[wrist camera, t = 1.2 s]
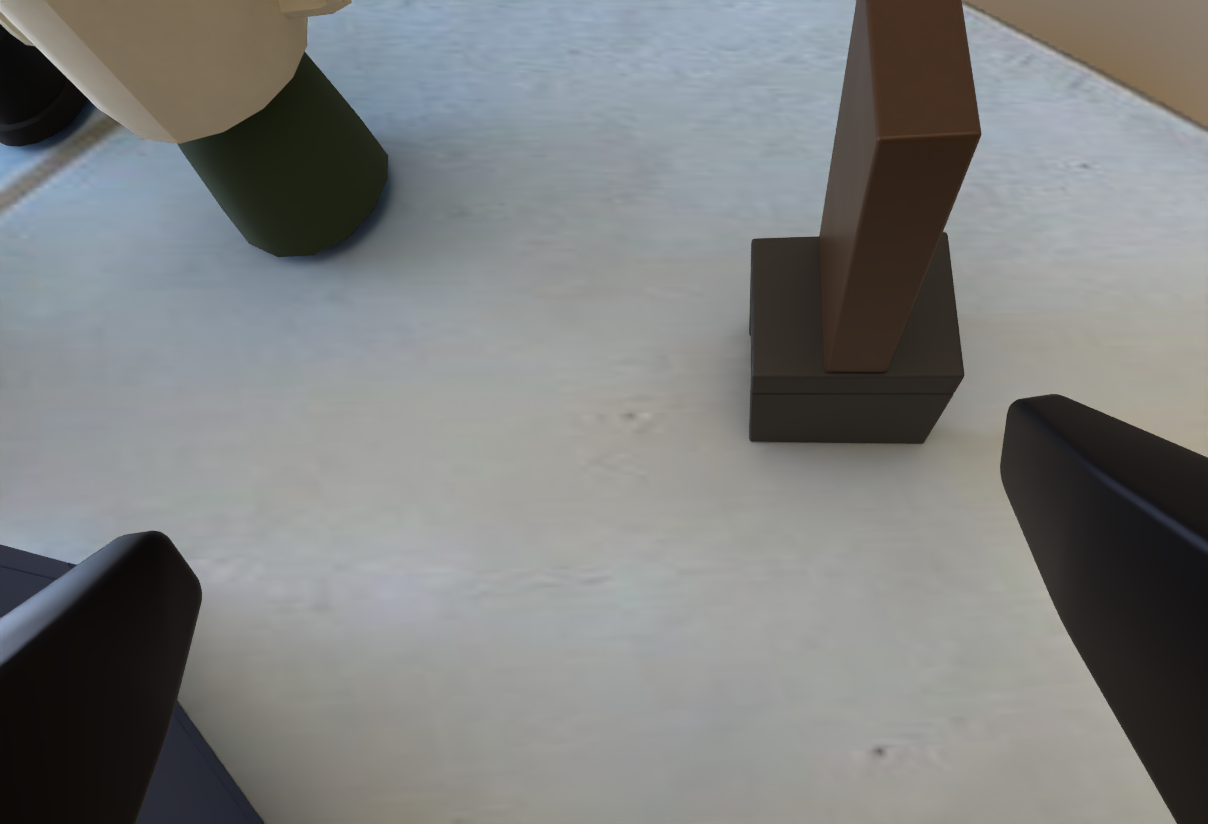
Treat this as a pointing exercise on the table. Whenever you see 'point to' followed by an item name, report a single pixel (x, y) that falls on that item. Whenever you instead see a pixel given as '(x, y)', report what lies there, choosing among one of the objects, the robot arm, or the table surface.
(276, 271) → the table surface
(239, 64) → the character mug
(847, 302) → the tall backed stool
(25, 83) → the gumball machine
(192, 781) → the box
